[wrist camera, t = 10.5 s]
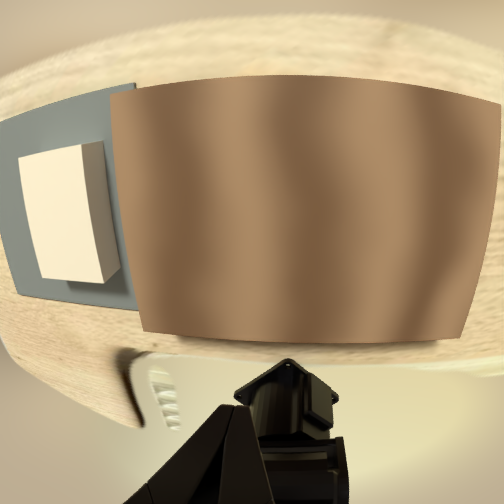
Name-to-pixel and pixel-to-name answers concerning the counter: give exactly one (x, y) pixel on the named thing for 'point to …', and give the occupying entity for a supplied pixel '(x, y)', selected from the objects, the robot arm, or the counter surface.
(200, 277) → the block
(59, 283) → the mat
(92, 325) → the counter surface
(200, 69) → the counter surface
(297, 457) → the robot arm
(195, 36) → the counter surface
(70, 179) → the tile
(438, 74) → the counter surface
